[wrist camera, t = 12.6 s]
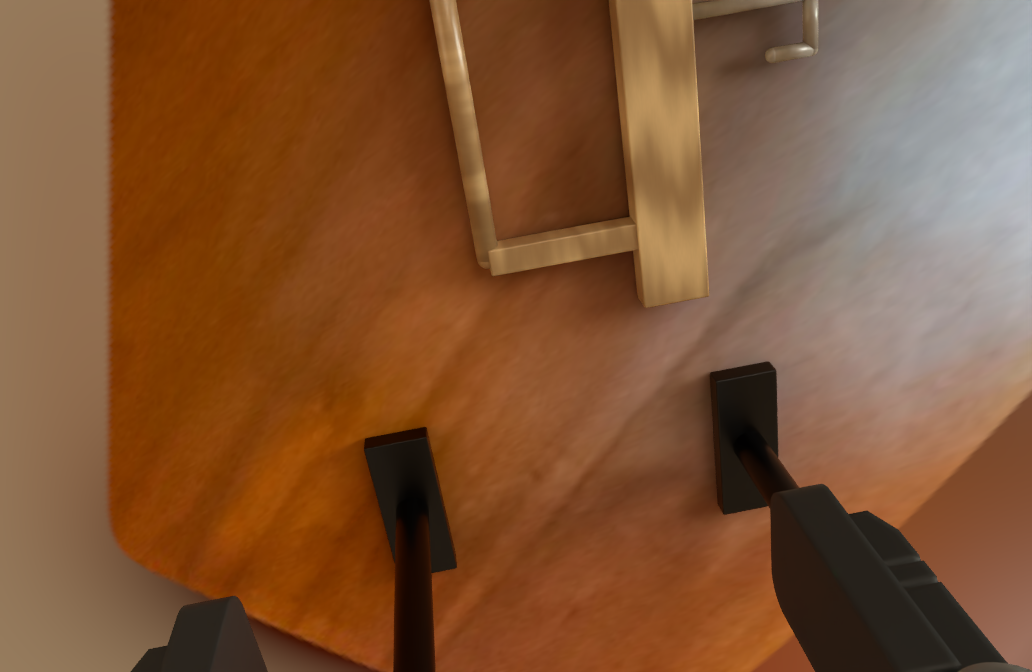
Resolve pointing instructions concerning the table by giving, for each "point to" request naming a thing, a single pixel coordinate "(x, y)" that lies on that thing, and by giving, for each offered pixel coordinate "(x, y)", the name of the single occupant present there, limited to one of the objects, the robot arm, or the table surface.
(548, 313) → the table surface
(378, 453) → the rail stand
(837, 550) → the robot arm
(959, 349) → the table surface
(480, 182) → the hanger
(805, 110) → the table surface
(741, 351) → the table surface
